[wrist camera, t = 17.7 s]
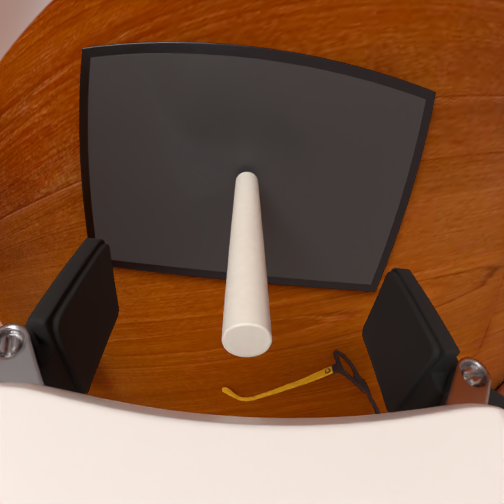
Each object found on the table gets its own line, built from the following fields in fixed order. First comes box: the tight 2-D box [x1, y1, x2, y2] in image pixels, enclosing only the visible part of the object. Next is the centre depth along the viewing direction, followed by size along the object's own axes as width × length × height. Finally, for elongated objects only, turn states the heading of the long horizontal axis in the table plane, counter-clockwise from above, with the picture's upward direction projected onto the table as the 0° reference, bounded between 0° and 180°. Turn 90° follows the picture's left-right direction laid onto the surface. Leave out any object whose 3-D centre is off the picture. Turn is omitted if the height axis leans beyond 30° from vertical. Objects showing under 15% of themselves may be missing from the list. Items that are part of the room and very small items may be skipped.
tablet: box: [79, 42, 436, 292], centre depth 21 cm, size 17×24×1 cm
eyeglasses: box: [222, 350, 380, 414], centre depth 33 cm, size 14×14×4 cm
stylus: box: [222, 172, 272, 357], centre depth 15 cm, size 1×1×14 cm
